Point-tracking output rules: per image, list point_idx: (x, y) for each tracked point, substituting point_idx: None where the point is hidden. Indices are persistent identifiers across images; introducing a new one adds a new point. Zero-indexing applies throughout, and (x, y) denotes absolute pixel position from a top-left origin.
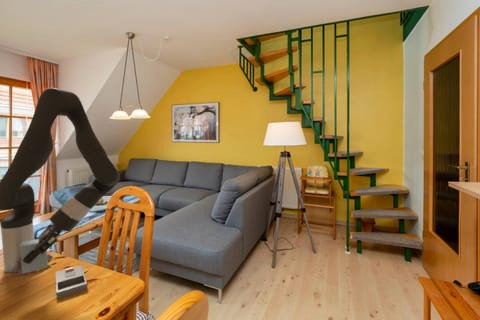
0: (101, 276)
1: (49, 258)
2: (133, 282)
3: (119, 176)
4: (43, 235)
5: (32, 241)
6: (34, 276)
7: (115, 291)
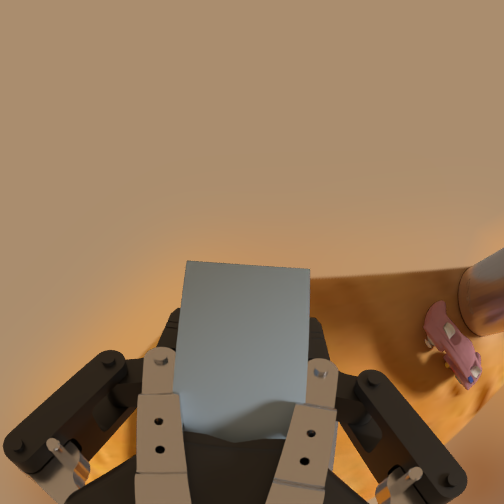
0: None
1: (461, 382)
2: None
3: None
4: (166, 450)
5: (263, 352)
6: (408, 345)
7: None
